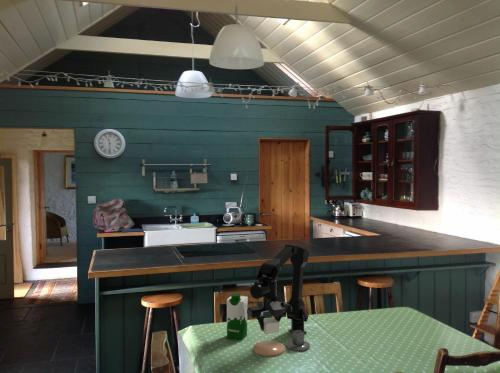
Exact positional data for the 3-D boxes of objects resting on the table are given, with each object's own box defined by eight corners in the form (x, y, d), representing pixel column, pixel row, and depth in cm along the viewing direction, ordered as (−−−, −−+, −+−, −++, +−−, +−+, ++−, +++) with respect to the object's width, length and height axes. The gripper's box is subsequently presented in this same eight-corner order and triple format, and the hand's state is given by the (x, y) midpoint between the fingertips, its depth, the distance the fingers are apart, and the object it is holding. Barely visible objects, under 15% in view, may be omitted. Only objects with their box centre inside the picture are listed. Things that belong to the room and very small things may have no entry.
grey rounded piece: (282, 344, 189) (282, 329, 188) (302, 340, 193) (302, 326, 193) (293, 353, 180) (294, 337, 179) (314, 349, 184) (314, 334, 184)
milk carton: (224, 339, 193) (224, 295, 192) (231, 332, 202) (232, 289, 201) (242, 342, 191) (243, 297, 190) (249, 334, 199) (249, 291, 198)
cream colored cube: (260, 329, 184) (260, 319, 184) (272, 327, 186) (272, 317, 186) (266, 334, 178) (266, 324, 178) (279, 332, 181) (279, 322, 181)
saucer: (248, 346, 186) (248, 343, 186) (275, 341, 191) (275, 339, 191) (261, 358, 174) (262, 355, 174) (290, 353, 180) (290, 350, 179)
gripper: (257, 301, 171) (257, 340, 171) (298, 295, 178) (298, 332, 179) (246, 293, 181) (246, 330, 181) (285, 288, 188) (285, 323, 189)
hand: (269, 329), depth 182 cm, fingers closed on cream colored cube, 6 cm apart
